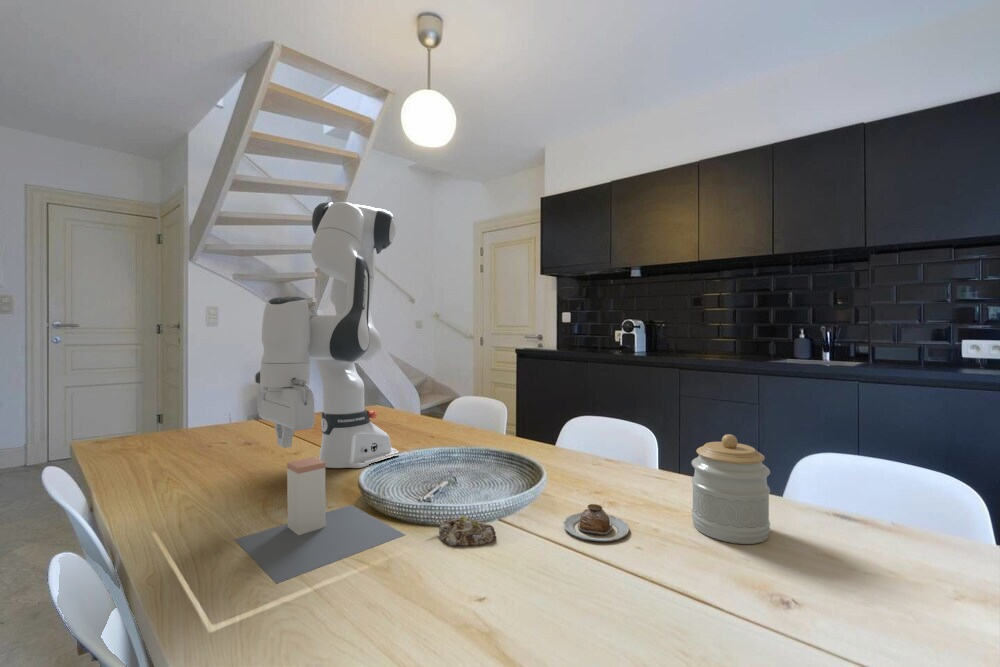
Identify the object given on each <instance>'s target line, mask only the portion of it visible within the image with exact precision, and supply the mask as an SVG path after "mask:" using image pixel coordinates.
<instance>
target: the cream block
mask: <svg viewBox="0 0 1000 667" xmlns="http://www.w3.org/2000/svg"><path fill="white" fill-rule="evenodd" d="M286 465H287V466H286V467H287V468H286V472H287V473H286V478H287V479H286V481H287V484H286V486H287V489H286V490H287V491H286V492H287V502H286V503H287V524H288V528H290V529H291V530H292V531H294V532H295V533H296V534H297V535H301V534H304V533H308V532H311V531H314V530H317V529H320V528H323V527H326V512H327V509H326V508H327V507H326V506H327V504H326V499H327V498H326V467H325V462H323V461H321V460H319V458H316V457H314V456H313V457H308V458H303V459H299V460H293V461H288V462H286Z"/></svg>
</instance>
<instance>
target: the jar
mask: <svg viewBox="0 0 1000 667" xmlns="http://www.w3.org/2000/svg"><path fill="white" fill-rule="evenodd" d="M738 441H739V440H738V439H737V437H736V436H735V435H734V434H729V433H728V434H724V435H723V436H722V438H721V441H711V442H706V443H705V444H703V445H702V446H700V447H698V448H697V449H696V453H697V455H698V456H697V457H695V458H693V459H692V460H691V466H692V467H693V468H694V475H693V476H692V477H691V483H692V509H691V520H692V525H693V528H695V529H696V530H697V531H698V532H700V533H701V534H702V535H706V536H707V537H709V538H712V539H715V540H718V541H721V542H726V543H732V544H736V545H737V544H738V545H739V544H741V545H754V544H759V543H762V542H766V540H767V539H769V534H770V531H771V528H770V526H771V522H770V493H771V488H770V487H769V485H768V482H767V478H768V476H769V475H770V474H771V471H770V469H769V467H767V466H766V465H765V464H764V463H763V462H764V461H765V459H766V458H765V455H763V454H762V453H761V452H759V451H758V450H757V449H756V448H754V447H753V446H750V445H748V444H743V443H738Z"/></svg>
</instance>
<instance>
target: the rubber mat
mask: <svg viewBox="0 0 1000 667" xmlns="http://www.w3.org/2000/svg"><path fill="white" fill-rule="evenodd" d="M404 536H406V533H404V532H402V531H399V530H398V529H396V528H394V527H392V526H390V525H389V524H387V523H385V522H384V521H382V520H379V519H378V518H376V517H374V516H373V515H370V514H368V513H367V512H365V511H363V510H362V509H360V508H359V507H356V506H354V505H353V504H350V505H346V506H343V507H340V508H336V509H333V510H329V511H326V527H323V528H320V529H317V530H314V531H311V532H308V533H304V534H301V535H297V534H296V533H295V532H294V531H292V530H291V529H290V528H288V523H285V524H282V525H278V526H275V527H272V528H268V529H263V530H262V531H258V532H255V533H254V532H253V533H251V534H248V535H244V536H241V537H238V538H234V541H235V542H236V543H237V544H238V545H239V546H240V547H241V548H242V549H243V550H244V552H245V553H246V554H247V555H249V557H250V558H251V559H252V560H253V561H254V562H255V563H256V564H257V565H258V566H259V567H260V568H261V569H262V570H263V571H264V572H265V574H266V575H267V576H269V578H270V579H271V580H272V581H273V582H274V583H275V584H280V583H282V582H285V581H288V580H290V579H294V578H296V577H298V576H302V575H303V574H307V573H309V572H311V571H314V570H317V569H319V568H321V567H325V566H328V565H330V564H333V563H335V562H338V561H341V560H344V559H346V558H349V557H352V556H354V555H357V554H359V553H362V552H364V551H367V550H370V549H373V548H375V547H378V546H380V545H383V544H386V543H389V542H391V541H394V540H396V539H398V538H402V537H404Z"/></svg>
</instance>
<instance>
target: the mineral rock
mask: <svg viewBox="0 0 1000 667" xmlns="http://www.w3.org/2000/svg"><path fill="white" fill-rule="evenodd" d="M438 528H439V529H438V534H439V536H438V537H439V539H440V541H442V542H443V543H446V544H447V545H448V546H450V547H452V546H455V547H457V546H461V547H467V546H482V545H485V544H486V543H488V544H489V543H491V542H492V541H495V540H497V535H496V533H497V532H496V531H495V527H494V525H492V524H489V523H484V522H482V521H477V520H470V518H469V517H468V516H466V515H460V516H459V518H456V519H450V518H448V519H447V518H446V519H445V520H441V521H440V526H439V527H438Z"/></svg>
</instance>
